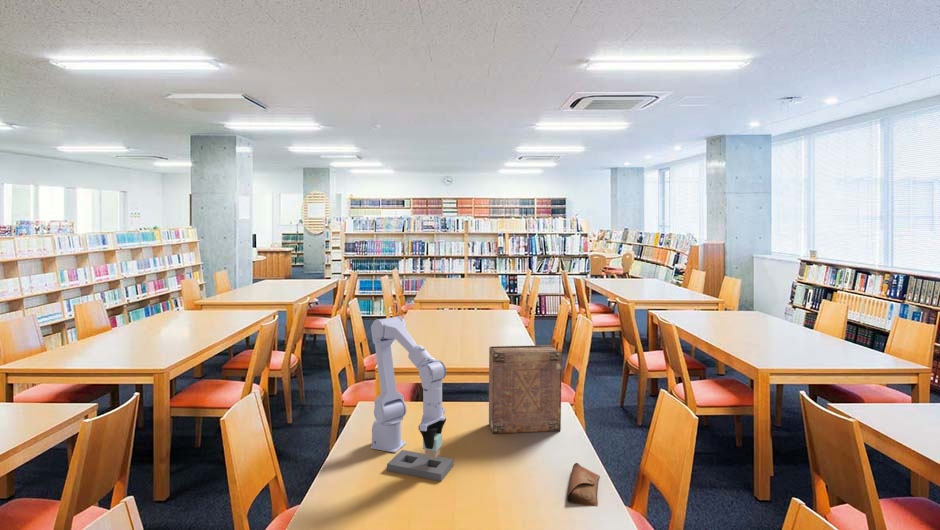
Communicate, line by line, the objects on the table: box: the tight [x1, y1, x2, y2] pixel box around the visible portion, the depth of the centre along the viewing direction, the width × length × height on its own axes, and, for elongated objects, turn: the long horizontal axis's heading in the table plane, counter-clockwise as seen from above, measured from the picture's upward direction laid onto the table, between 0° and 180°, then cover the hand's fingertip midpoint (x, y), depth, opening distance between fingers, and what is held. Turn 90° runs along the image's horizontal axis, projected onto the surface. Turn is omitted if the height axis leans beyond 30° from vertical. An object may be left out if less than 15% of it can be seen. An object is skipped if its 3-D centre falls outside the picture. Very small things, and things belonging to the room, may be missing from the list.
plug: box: [422, 433, 443, 458], centre depth 149 cm, size 4×4×6 cm
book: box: [488, 344, 563, 435], centre depth 181 cm, size 25×9×30 cm, turn 97°
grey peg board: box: [386, 449, 455, 482], centre depth 151 cm, size 18×10×2 cm, turn 71°
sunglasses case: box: [567, 462, 601, 507], centre depth 141 cm, size 18×7×7 cm, turn 164°
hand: (432, 444), depth 149 cm, fingers closed on plug, 4 cm apart
